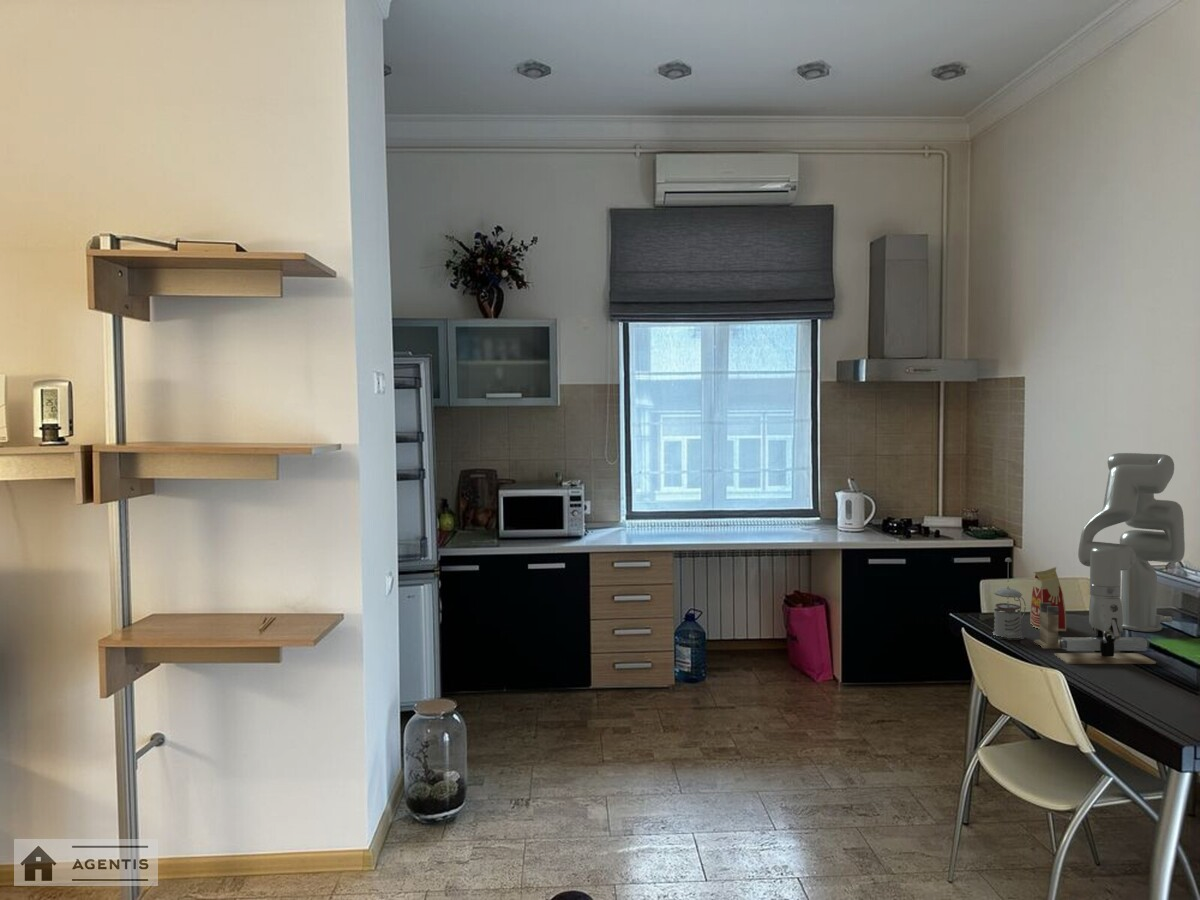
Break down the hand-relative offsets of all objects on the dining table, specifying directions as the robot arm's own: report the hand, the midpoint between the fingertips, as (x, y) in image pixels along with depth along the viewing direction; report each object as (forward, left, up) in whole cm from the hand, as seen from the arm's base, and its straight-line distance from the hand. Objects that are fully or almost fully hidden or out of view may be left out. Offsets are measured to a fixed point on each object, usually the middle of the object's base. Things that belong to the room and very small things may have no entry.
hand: (1104, 653), depth 244 cm
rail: (0, 0, +1) cm, 1 cm away
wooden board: (0, 0, -2) cm, 2 cm away
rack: (0, -14, -2) cm, 14 cm away
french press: (+16, -25, -2) cm, 30 cm away
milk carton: (0, -35, -2) cm, 35 cm away
